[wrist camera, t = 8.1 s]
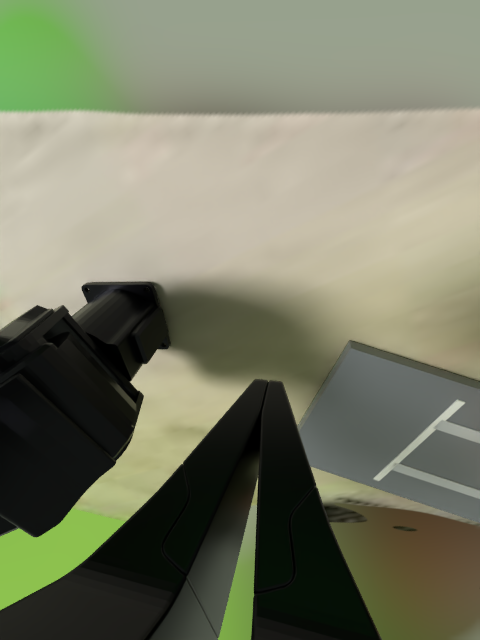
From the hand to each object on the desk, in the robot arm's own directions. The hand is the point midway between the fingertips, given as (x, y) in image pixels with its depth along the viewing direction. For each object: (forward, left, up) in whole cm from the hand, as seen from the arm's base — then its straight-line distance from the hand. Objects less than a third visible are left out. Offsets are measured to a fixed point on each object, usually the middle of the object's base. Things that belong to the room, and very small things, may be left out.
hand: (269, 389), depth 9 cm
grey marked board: (+13, -19, -13) cm, 27 cm away
